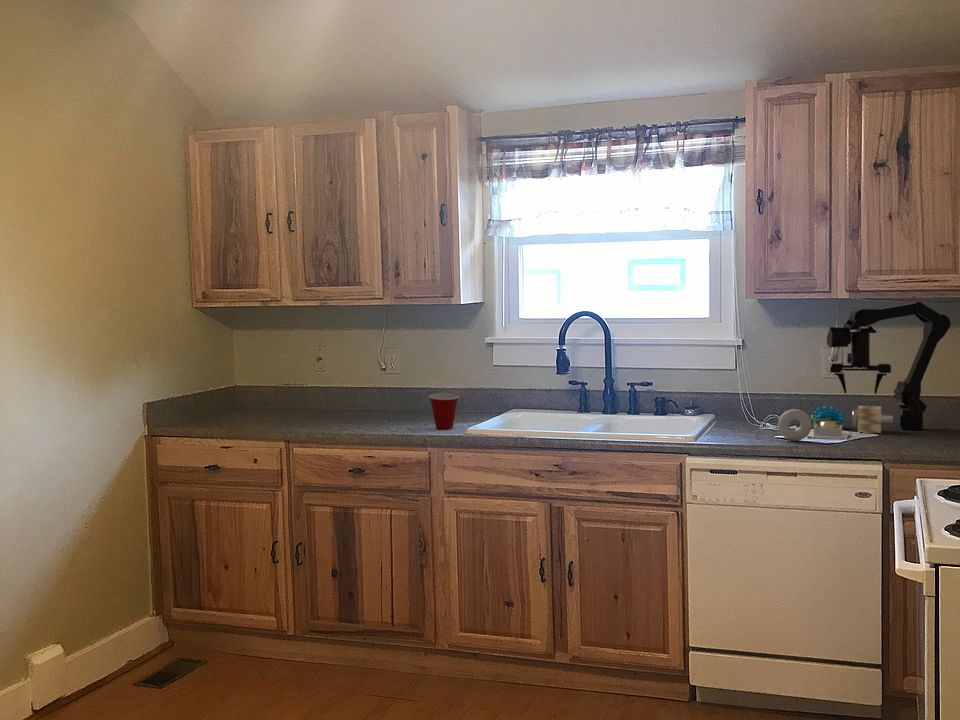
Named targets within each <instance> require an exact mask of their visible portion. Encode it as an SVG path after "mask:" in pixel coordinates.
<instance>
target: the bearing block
mask: <svg viewBox="0 0 960 720" xmlns="http://www.w3.org/2000/svg"><path fill="white" fill-rule="evenodd" d="M857 410H858V424H857V433H858V432H863V433H862V434H873V433H881V434H882V422H881V415H882V406H880V405H879V406H878V405H858V407H857Z"/></svg>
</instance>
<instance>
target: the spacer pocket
mask: <svg viewBox="0 0 960 720" xmlns="http://www.w3.org/2000/svg"><path fill="white" fill-rule="evenodd" d="M848 435H850V432H847V431H846V432H844V431H843V425H841V424H840V425H838V424H837V428H820V424H816V425H815V427H813V430H811V431H810V433H809V434H808V435H807V436H806V438H807V437H815V438H814V439H818V438H834V439H833V440H845V439H847V438H849V436H848ZM816 437H817V438H816ZM847 440H848V439H847Z"/></svg>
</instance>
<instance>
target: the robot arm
mask: <svg viewBox="0 0 960 720" xmlns="http://www.w3.org/2000/svg"><path fill="white" fill-rule="evenodd" d="M911 315H912V316H913V315H914V316H915V317H916V318H917V319H918V320H919V321H920V322H922V323H923V329H922V332H923V333H922V339H921V343H920V346H919V347H918V350H917V353H916V355H915V357H914V360H913V362H912V364H911V367H910V368H909V372H908V374H907V377H906V378H905V379H904V380H903V381H900V380H898V381H897V383H896V387H895V389H894V390H893V393H894V395H893V398H894V401H895V403H896V404H898V405H899V407H900V409H901V411H902V412H901V413H900V414H899V416H900V417H899V420H900V421H899V426H900V428H901V430H904V431H905V430H908V431H909V430H910V431H911V430H912V431H924V427H923V426H924V425H923V424H924V413H925V412H926V409H927V407H928V406H927V405H926V403H924V402H923V401H922V399H920V398H921V393H922V381H923V379H924V377H925V373H926V372H927V369H928V367H929V364H930V362H931V359H932V357H933V355H934V352H935V350H936V347H937V345H938V343H939V342H940V341H941V340H942V338H944V337H945V335H946V334H947V333H948V331H949V329H950V328H951V326H952V325H951V324H952V321H951V320H950V318H949V316H947V315H946V314H940V313H939V312H937V311H936V310H934V309H932V308H931V307H929V306H927V305H925V304H924V303H923V302H921V301H914V302H910V303H905V304H898V305H893V306H888V307H882V308H856V309H853V310H852V311H851V312H850V313H849V316H848V317H849V318H847V319H848V320H846V322H845V323H844V325H843V326H841V327H839V326H838V327H836V326H829V328H828V332H827V336H826V344H827V346H828V348H848V346H849V345H851V346H850V349H851V351H850V352H849V353H846V355H847V358H846V361H847V364H844V362H832V363H831V364H830V365H829V372H830V373H833V375H834V376H837V377H838V380H839V381H840V384H841V386H842V387H841V388H842V389H843V392H844V394H845V395H846V394H847V386H846V377H845V371H848V372H849V371H859V372H860V371H862V372H863V371H865V372H869V371H870V372H871V371H872V372H873V371H874V372H877V373H876V379H875V385H874V395H877V393H878V388H879V386H880V383H881V381H882V380H883V377H884V376H887V374H891V373H892V364H891V363H889V362H888V363H887V362H886V363H884V362H883V363H882V362H881V363H880V362H878V364H877V365H876V364H875V365H873V364H872V365H871V357H870V355H871V354H870V352H871V351H870V350H871V349H870V348H871V347H870V346H871V345H870V344H871V338H870V337H871V336H870V335H871V334H876V333H877V330H876V329H875V328H873V325H874V324H876V323H878V322H881V321H883V320H889V319H896V318H901V317H907V316H911ZM848 364H849V365H848Z"/></svg>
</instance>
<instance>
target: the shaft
mask: <svg viewBox="0 0 960 720" xmlns="http://www.w3.org/2000/svg"><path fill="white" fill-rule="evenodd" d="M851 414H852V416H851V418H852V419H851V421H852V423H851V425H852V426H858V409H852V411H851ZM881 423H894V415H893V414H881Z"/></svg>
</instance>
